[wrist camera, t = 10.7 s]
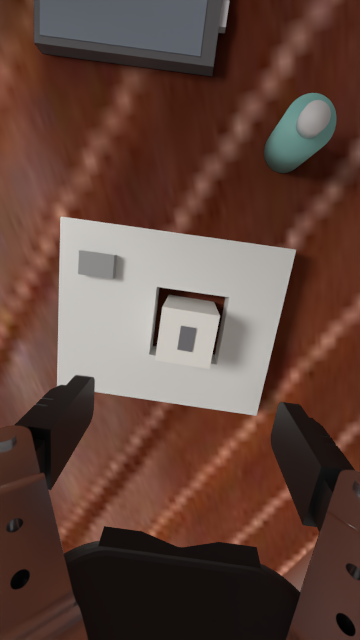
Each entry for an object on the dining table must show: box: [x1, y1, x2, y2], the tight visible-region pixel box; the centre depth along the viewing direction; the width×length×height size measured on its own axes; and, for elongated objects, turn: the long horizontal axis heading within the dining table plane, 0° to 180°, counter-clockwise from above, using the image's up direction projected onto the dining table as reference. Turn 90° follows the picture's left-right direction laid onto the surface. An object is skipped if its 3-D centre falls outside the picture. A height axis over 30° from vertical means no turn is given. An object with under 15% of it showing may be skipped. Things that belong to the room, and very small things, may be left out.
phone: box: [34, 0, 230, 76], centre depth 20 cm, size 14×7×1 cm, turn 82°
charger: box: [155, 295, 220, 369], centre depth 24 cm, size 4×4×6 cm
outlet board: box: [57, 217, 296, 415], centre depth 25 cm, size 20×16×3 cm
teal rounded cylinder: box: [264, 93, 336, 173], centre depth 20 cm, size 4×4×6 cm
